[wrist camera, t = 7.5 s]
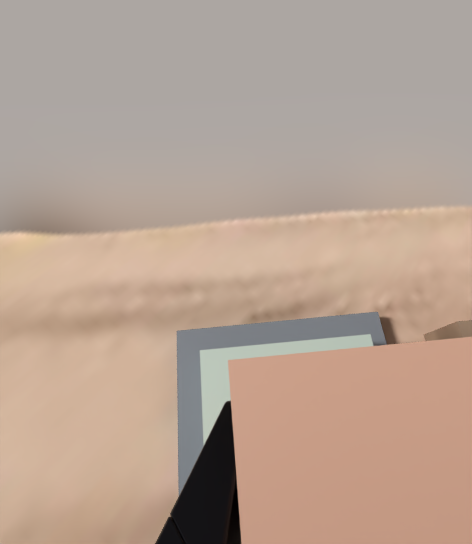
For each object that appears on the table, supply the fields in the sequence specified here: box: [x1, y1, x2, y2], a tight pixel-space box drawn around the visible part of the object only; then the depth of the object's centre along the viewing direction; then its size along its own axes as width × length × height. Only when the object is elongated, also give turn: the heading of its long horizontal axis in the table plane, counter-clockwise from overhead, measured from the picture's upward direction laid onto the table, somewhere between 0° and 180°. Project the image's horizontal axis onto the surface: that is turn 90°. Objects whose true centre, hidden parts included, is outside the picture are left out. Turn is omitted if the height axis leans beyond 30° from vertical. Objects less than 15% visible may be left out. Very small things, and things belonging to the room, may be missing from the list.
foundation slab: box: [200, 334, 373, 444], centre depth 14 cm, size 8×8×2 cm
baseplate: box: [177, 312, 387, 495], centre depth 15 cm, size 11×11×1 cm
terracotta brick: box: [228, 337, 472, 544], centre depth 8 cm, size 4×4×8 cm
